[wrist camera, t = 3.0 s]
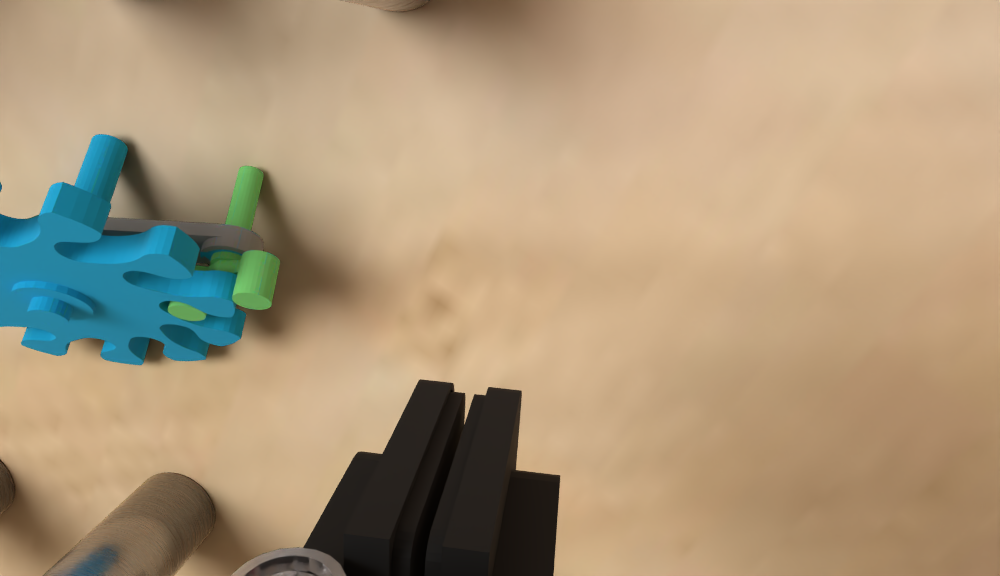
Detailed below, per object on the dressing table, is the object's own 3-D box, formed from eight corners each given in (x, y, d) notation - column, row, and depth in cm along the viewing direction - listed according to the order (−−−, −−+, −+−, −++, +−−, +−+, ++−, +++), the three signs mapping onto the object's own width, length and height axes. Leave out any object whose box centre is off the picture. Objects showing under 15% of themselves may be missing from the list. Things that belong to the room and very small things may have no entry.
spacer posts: (428, 579, 26) (356, 791, 19) (-52, 509, 28) (-290, 673, 21) (453, -106, 20) (355, -209, 12) (-181, -130, 22) (-602, -230, 14)
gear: (-29, 372, 24) (-312, 205, 15) (30, 221, 27) (-181, 4, 18) (305, 391, 25) (217, 236, 16) (332, 239, 27) (268, 34, 18)
